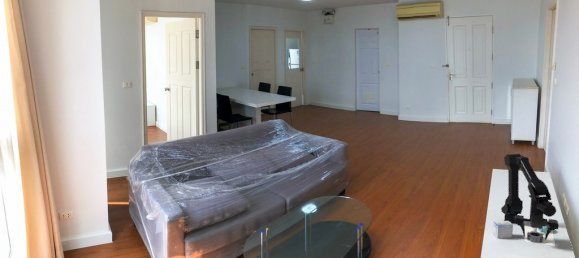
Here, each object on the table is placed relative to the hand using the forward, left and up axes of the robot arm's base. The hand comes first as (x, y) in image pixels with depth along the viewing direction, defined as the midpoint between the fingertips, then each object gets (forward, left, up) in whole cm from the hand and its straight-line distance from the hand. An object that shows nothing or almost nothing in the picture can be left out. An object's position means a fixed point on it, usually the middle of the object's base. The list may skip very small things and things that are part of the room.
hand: (534, 237), depth 216 cm
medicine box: (-15, -1, -3) cm, 15 cm away
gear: (0, 0, -1) cm, 1 cm away
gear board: (+2, +6, -2) cm, 7 cm away
